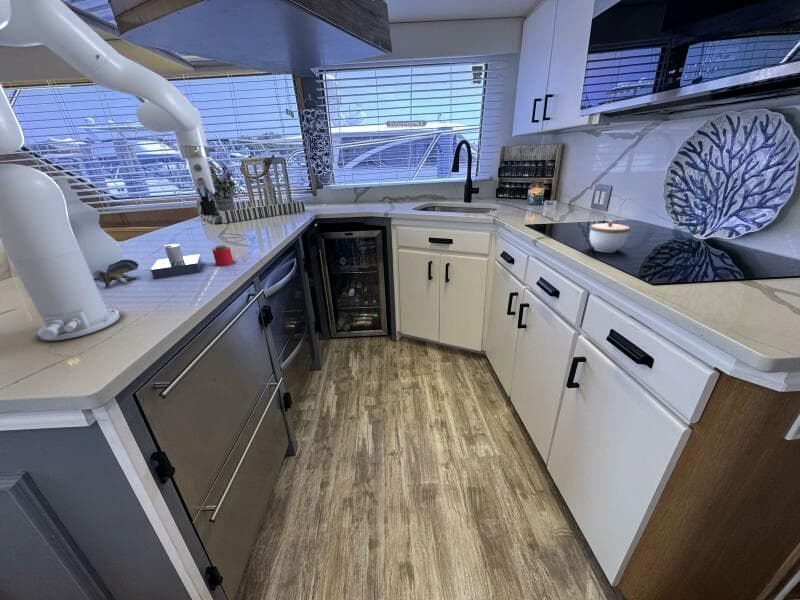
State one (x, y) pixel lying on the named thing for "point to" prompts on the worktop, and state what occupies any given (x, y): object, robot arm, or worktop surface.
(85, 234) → the soap bottle
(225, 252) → the strawberry toy
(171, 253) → the knob
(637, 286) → the worktop surface
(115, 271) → the squirrel figurine
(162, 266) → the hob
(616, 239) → the trinket box
